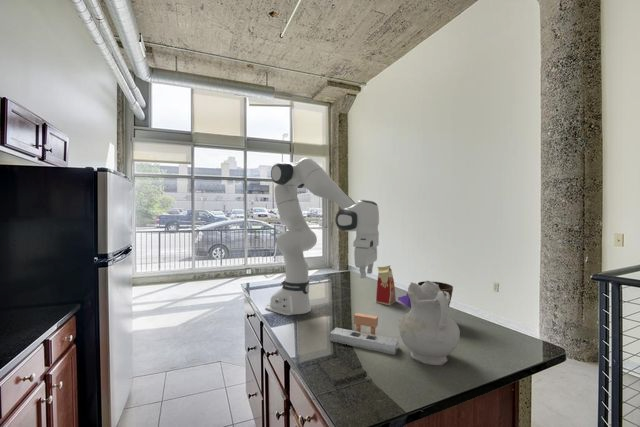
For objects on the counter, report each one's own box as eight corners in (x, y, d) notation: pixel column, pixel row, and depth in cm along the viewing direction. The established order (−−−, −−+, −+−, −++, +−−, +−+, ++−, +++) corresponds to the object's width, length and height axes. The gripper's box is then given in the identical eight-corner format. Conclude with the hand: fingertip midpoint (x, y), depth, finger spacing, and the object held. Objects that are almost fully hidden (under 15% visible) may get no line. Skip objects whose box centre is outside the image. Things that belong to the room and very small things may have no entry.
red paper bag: (395, 301, 163) (396, 264, 163) (390, 305, 155) (390, 267, 155) (379, 298, 168) (380, 262, 167) (373, 302, 160) (374, 265, 160)
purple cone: (420, 306, 155) (420, 293, 155) (408, 307, 154) (408, 294, 154) (409, 299, 167) (409, 287, 167) (397, 300, 166) (398, 288, 165)
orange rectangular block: (353, 332, 120) (353, 315, 120) (355, 329, 123) (356, 312, 123) (375, 336, 116) (376, 318, 116) (377, 333, 119) (377, 316, 119)
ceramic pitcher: (477, 375, 92) (484, 294, 93) (423, 379, 87) (430, 293, 87) (432, 344, 113) (437, 278, 113) (386, 346, 107) (392, 277, 108)
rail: (329, 341, 112) (330, 333, 112) (335, 335, 117) (335, 327, 117) (395, 354, 102) (395, 346, 102) (398, 347, 107) (398, 339, 107)
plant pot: (415, 313, 144) (416, 280, 144) (448, 316, 141) (449, 282, 141) (419, 324, 129) (419, 287, 129) (456, 328, 126) (456, 290, 126)
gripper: (366, 238, 130) (366, 270, 130) (351, 242, 111) (351, 279, 111) (381, 239, 127) (380, 271, 127) (368, 243, 109) (367, 281, 109)
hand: (366, 275), depth 119 cm, fingers open, 8 cm apart
